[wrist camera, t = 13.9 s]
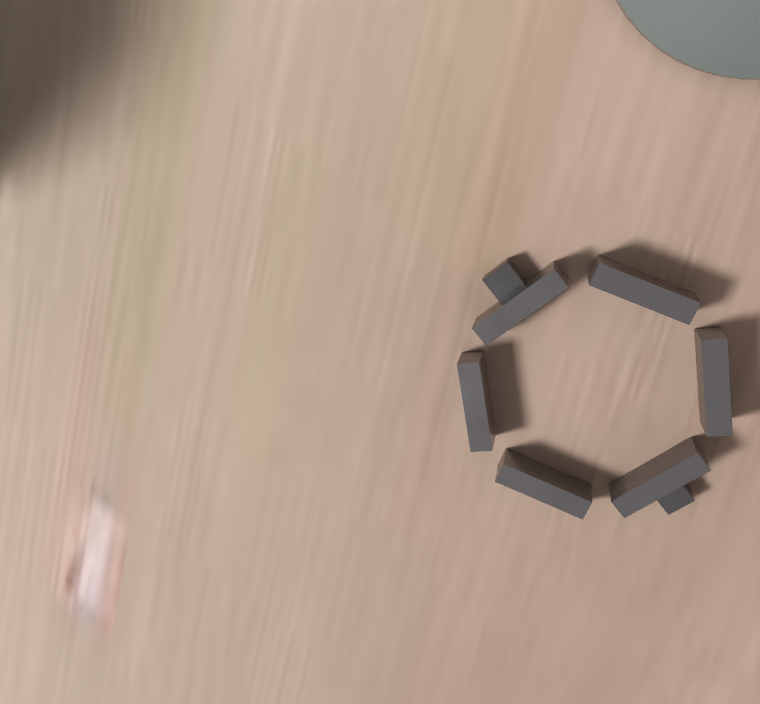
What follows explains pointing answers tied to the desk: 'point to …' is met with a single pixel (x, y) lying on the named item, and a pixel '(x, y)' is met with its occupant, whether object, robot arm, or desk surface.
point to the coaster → (702, 33)
